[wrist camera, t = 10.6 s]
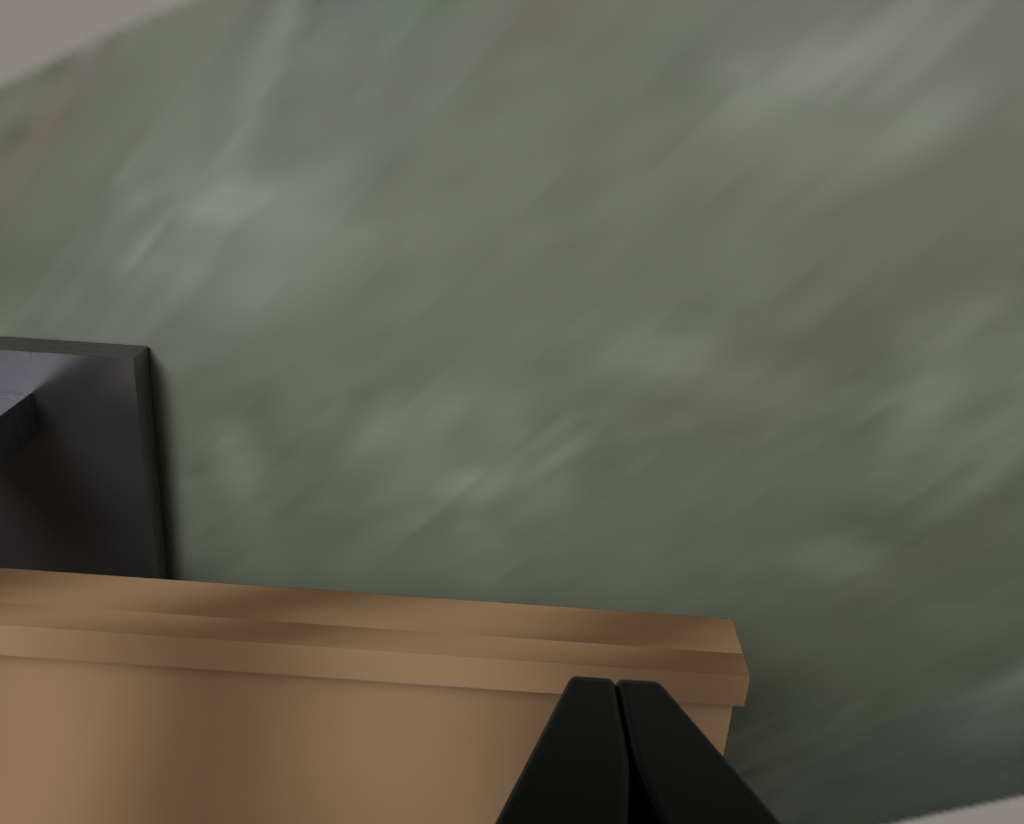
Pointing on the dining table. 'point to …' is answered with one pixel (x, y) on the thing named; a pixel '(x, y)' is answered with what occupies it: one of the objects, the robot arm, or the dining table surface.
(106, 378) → the stand
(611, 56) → the dining table surface
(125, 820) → the balance beam
